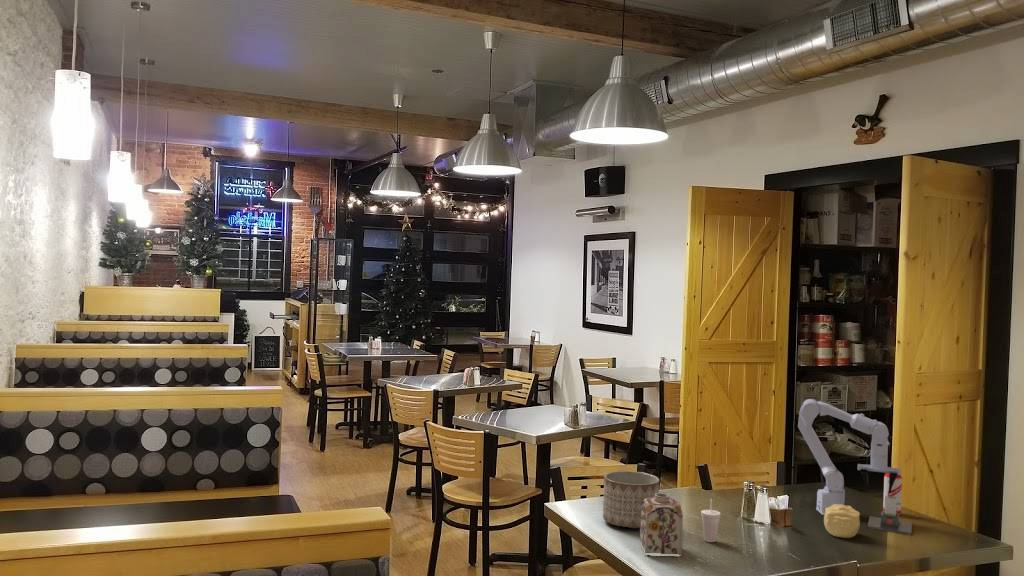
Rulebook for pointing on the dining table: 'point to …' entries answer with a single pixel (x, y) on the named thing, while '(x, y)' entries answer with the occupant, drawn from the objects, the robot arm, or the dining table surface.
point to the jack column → (890, 506)
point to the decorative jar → (661, 525)
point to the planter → (627, 496)
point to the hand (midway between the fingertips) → (878, 491)
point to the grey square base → (889, 524)
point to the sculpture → (842, 521)
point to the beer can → (893, 491)
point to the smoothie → (710, 523)
